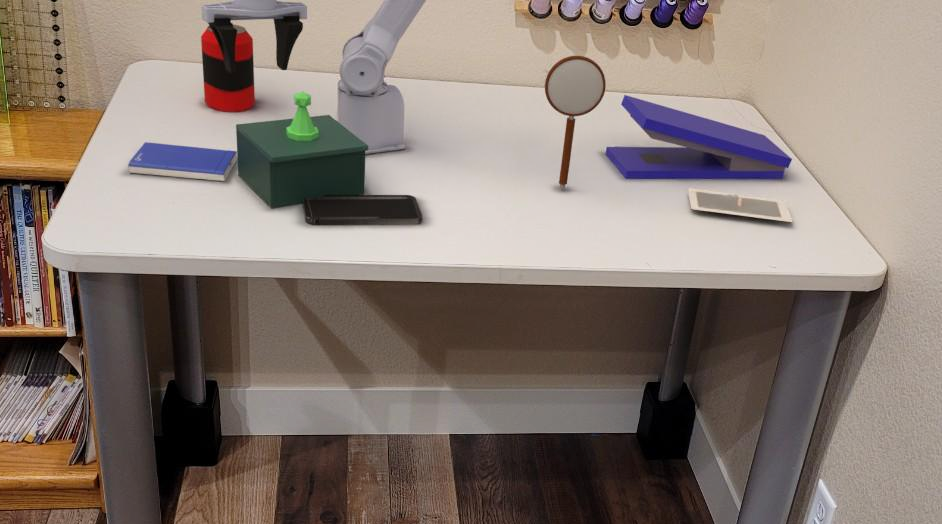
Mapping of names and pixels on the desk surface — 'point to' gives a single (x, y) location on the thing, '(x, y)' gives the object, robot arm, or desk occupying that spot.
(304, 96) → the game piece
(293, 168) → the bin
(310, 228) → the desk surface
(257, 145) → the bin lid
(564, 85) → the magnifying glass
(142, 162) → the hard drive
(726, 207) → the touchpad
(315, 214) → the phone
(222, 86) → the soda can
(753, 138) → the stapler
